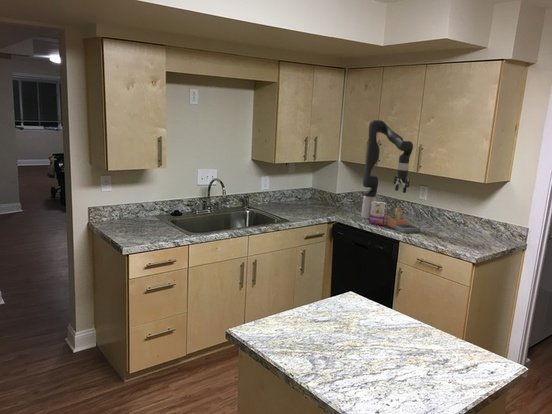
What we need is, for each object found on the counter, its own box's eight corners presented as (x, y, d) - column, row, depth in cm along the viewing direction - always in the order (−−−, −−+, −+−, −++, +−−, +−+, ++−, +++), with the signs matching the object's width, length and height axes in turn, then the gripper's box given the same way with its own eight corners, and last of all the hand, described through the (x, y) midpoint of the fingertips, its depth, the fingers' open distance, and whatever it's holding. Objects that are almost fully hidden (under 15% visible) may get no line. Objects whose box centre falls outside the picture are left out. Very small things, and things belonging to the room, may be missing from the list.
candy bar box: (385, 224, 338) (387, 202, 334) (383, 225, 333) (386, 203, 330) (370, 222, 343) (372, 200, 339) (368, 223, 338) (370, 201, 335)
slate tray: (393, 229, 325) (393, 225, 325) (409, 228, 331) (409, 224, 330) (403, 233, 316) (403, 228, 315) (419, 232, 321) (419, 227, 320)
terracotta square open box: (386, 225, 336) (387, 216, 334) (397, 224, 340) (398, 216, 338) (395, 228, 327) (396, 219, 325) (406, 228, 331) (407, 219, 329)
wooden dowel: (392, 226, 334) (394, 207, 331) (397, 225, 336) (399, 207, 333) (396, 227, 330) (398, 208, 328) (400, 227, 332) (402, 208, 329)
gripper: (392, 167, 329) (390, 190, 333) (405, 170, 317) (402, 193, 320) (401, 167, 332) (398, 189, 336) (413, 170, 319) (411, 193, 323)
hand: (400, 191), depth 328 cm, fingers open, 8 cm apart
